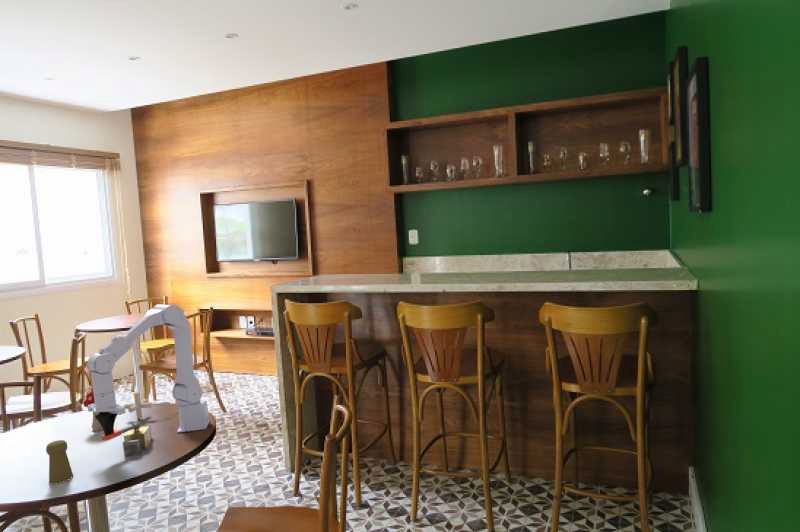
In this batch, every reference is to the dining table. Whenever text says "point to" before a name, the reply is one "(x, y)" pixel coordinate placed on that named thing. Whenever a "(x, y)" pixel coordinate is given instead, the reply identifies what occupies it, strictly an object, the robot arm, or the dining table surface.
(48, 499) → the dining table surface
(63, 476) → the cork
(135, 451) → the valve body
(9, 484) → the dining table surface
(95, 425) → the decorative mushroom
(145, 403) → the pipe connector
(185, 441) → the dining table surface
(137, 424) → the valve lever
